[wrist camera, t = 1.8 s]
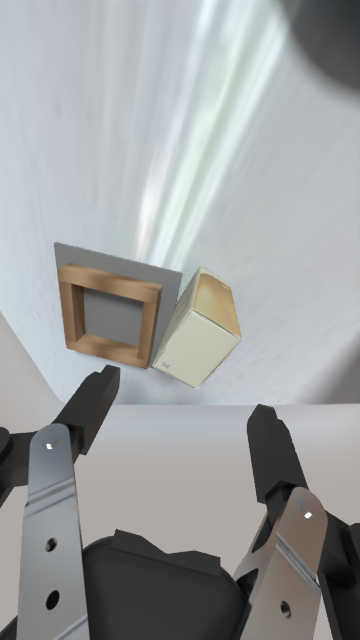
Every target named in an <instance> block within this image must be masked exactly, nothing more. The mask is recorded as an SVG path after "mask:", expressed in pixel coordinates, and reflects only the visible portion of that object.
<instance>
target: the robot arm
mask: <svg viewBox="0 0 360 640" xmlns="http://www.w3.org/2000/svg"><path fill="white" fill-rule="evenodd" d="M119 383H120V368H119V367H115V366H111V365H106V366H105V367H104V369H103V370H102V372H101V373H99V372H93V373H92V374H90V375H89V376H88V377H86V378H85V380H84V381H83V382H82V384H81V385H80V387H79V388H78V389H77V391H76V392H75V394H74V395H73V396H72V397H71V399H70V400H69V401H68V403H67V404H66V406H65V407H64V408H63V410H62V411H61V412H60V414H59V415H58V416H57V418H56V419H55V420H54V421H53V422H52V423H51V424H50V425H47V426H45V427H43V428H42V429H40V430H39V431H35V432H29V433H17V434H9V431H8V430H7V429H5V428H3V427H0V508H1V506H2V505H3V503H4V501H5V500H6V499H7V497H8V495H9V494H10V492H11V491H12V489H13V488H14V487H17V486H24V485H28V499H27V504H26V505H25V508H24V514H23V526H22V546H21V563H20V582H19V602H18V615H17V616H16V617H15V618H14V619H13V620H12V621H11V622H10V623H9V624H8V625H7V626H6V627H5V628H4V629H3V630H2V631H1V632H0V640H313V635H314V631H315V626H316V621H317V616H318V611H319V605H320V599H321V592H322V596H323V600H324V604H325V608H326V613H327V617H328V621H329V624H330V629H331V633H332V637H333V640H360V523H355V524H352V525H351V526H349V525H348V524H346V523H344V522H343V521H341V520H339V519H338V518H337V517H335V516H333V515H332V514H330V513H329V512H327V511H326V510H325V509H324V507H323V506H322V504H321V502H320V501H319V500H318V498H317V497H316V496H315V495H314V494H313V493H312V492H310V491H309V489H308V486H307V483H306V480H305V477H304V474H303V471H302V468H301V465H300V462H299V459H298V456H297V454H296V452H295V447H294V445H293V443H292V439H291V436H290V433H289V430H288V428H287V427H286V426H285V424H284V423H283V421H282V420H279V419H277V415H276V412H275V410H274V408H273V407H269V406H265V405H262V404H258V405H257V407H256V408H255V410H254V411H253V413H252V415H251V416H250V418H249V419H248V422H247V435H248V442H249V448H250V455H251V462H252V468H253V475H254V482H255V488H256V495H257V501H258V502H260V503H263V504H266V506H267V513H266V514H265V516H264V518H263V520H262V523H261V525H260V527H259V529H258V531H257V533H256V536H255V538H254V540H253V542H252V544H251V546H250V548H249V550H248V552H247V554H246V556H245V557H244V559H243V560H242V561H241V563H240V565H239V566H238V568H237V569H236V571H235V573H234V575H233V577H231V576H230V574H229V573H228V572H227V571H225V570H224V569H223V568H222V567H221V566H220V557H216V556H213V555H209V554H206V553H202V552H198V551H187V552H179V553H171V554H167V553H164V552H163V551H161V550H160V549H159V548H157V547H156V546H154V545H153V544H152V543H150V542H149V541H147V540H146V539H145V538H143V537H142V536H140V535H136V534H132V533H129V532H125V531H121V530H118V529H116V531H115V534H114V536H109V537H105V538H101V539H99V540H97V541H95V542H93V543H91V544H90V545H88V546H87V547H85V548H84V549H83V545H82V535H81V527H80V517H79V510H78V500H77V490H76V481H75V472H74V463H75V461H76V459H77V457H78V456H79V454H82V455H86V454H87V452H88V450H89V448H90V447H91V444H92V443H93V441H94V439H95V437H96V435H97V433H98V431H99V429H100V427H101V425H102V423H103V421H104V419H105V417H106V415H107V413H108V411H109V409H110V407H111V405H112V403H113V401H114V399H115V397H116V395H117V393H118V389H119ZM316 574H317V576H318V580H319V584H320V586H319V585H318V583H317V582H316ZM320 588H321V589H320Z"/></svg>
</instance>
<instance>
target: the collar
mask: <svg viewBox="0 0 360 640" xmlns="http://www.w3.org/2000/svg"><path fill="white" fill-rule="evenodd" d="M58 277H59V286H60V294H61V303H62V312H63V320H64V329H65V337H66V346H67V348H68V349H72V350H75V351H79V352H83V353H87V354H91V355H95V356H98V357H102V358H106V359H110V360H114V361H117V362H121V363H125V364H129V365H133V366H137V367H140V368H144V369H147V367H148V364H149V362H150V359H151V356H152V350H153V344H154V338H155V331H156V325H157V319H158V313H159V307H160V301H161V295H162V289H163V285H159V284H155V283H151V282H147V281H143V280H138V279H134V278H130V277H126V276H122V275H118V274H114V273H110V272H106V271H102V270H98V269H94V268H90V267H86V266H82V265H78V264H74V263H69V264H67V265H64V266H61V267H59V268H58ZM83 286H84V287H88V288H92V289H96V290H100V291H104V292H108V293H112V294H116V295H120V296H124V297H128V298H132V299H136V300H140V301H144V305H143V314H142V322H141V331H140V339H139V347H137V346H134V345H130V344H126V343H122V342H118V341H114V340H110V339H106V338H103V337H99V336H95V335H91V334H87V333H86V329H85V310H84V291H83Z"/></svg>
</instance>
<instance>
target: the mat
mask: <svg viewBox="0 0 360 640" xmlns="http://www.w3.org/2000/svg"><path fill="white" fill-rule="evenodd" d="M54 248H55V257H56V265H57V274H58V268H59V267H61V266H64V265H67V264H69V263H74V264H78V265H82V266H86V267H90V268H94V269H98V270H102V271H106V272H110V273H114V274H118V275H122V276H126V277H130V278H134V279H138V280H143V281H147V282H151V283H155V284H159V285H163V289H162V295H161V301H160V307H159V313H158V319H157V325H156V331H155V338H154V344H153V350H152V356H151V359H150V362H149V364H148V367H151V368H154V367H153V366H152V365H153V362H154V360H155V357H156V355H157V352H158V349H159V347H160V344H161V342H162V339H163V337H164V334H165V332H166V330H167V327H168V324H169V322H170V320H171V317H172V314H173V312H174V309H175V306H176V301H177V296H178V291H179V287H180V282H181V277H182V273H180V272H176V271H172V270H168V269H164V268H160V267H156V266H152V265H148V264H143V263H139V262H135V261H131V260H127V259H123V258H119V257H115V256H111V255H106V254H102V253H98V252H94V251H90V250H86V249H82V248H78V247H74V246H69V245H65V244H61V243H57V242H55V243H54ZM58 282H59V277H58ZM59 291H60V286H59ZM83 291H84V310H85V329H86V333H87V334H91V335H95V336H99V337H103V338H106V339H110V340H114V341H118V342H122V343H126V344H130V345H134V346H137V347H139V339H140V331H141V322H142V314H143V305H144V301H140V300H136V299H132V298H128V297H124V296H120V295H116V294H112V293H108V292H104V291H100V290H96V289H92V288H88V287H84V286H83ZM60 300H61V294H60ZM61 308H62V303H61ZM62 317H63V312H62ZM63 325H64V320H63ZM64 334H65V329H64ZM65 342H66V337H65ZM155 369H156V368H155Z"/></svg>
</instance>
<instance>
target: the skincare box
mask: <svg viewBox="0 0 360 640" xmlns="http://www.w3.org/2000/svg"><path fill="white" fill-rule="evenodd" d="M241 341H242V337H241V333H240V328H239V324H238V319H237V315H236V310H235V306H234V301H233V297H232V292H231V288H230V284H229V283H227V282H226V281H224V280H223V279H221V278H220V277H218V276H217V275H215V274H214V273H212V272H210V271H209V270H207V269H206V268H204V267H202V266H201V267H199V269H198V270H197V272H196V273H195V275H194V276H193V278H192V279H191V281H190V282H189V284H188V286H187V287H186V289H185V291H184V292H183V294H182V296H181V297H180V299H179V301H178V303H177V304H176V307H175V309H174V312H173V314H172V317H171V320H170V322H169V324H168V327H167V330H166V332H165V334H164V337H163V339H162V342H161V344H160V347H159V349H158V352H157V355H156V357H155V360H154V362H153V365H152V366H153V367H154V368H156V369H158V370H160V371H162V372H164V373H165V374H167V375H169V376H171V377H173V378H175V379H177V380H178V381H180V382H182V383H184V384H186V385H188V386H190V387H192V388H194V389H198V388H199V387H200V386H201V385H202V384H203V383H204V382H205V381H206V380H207V379H208V378H209V377H210V376H211V375H212V374H213V373H214V372H215V371H216V370H217V368H218V367H219V366H220V365H221V364H222V363H223V362H224V361H225V360H226V358H227V357H228V356H229V355H230V354H231V353H232V351H233V350H234V349H235V348H236V347H237V346H238V344H239V343H240V342H241Z"/></svg>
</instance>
